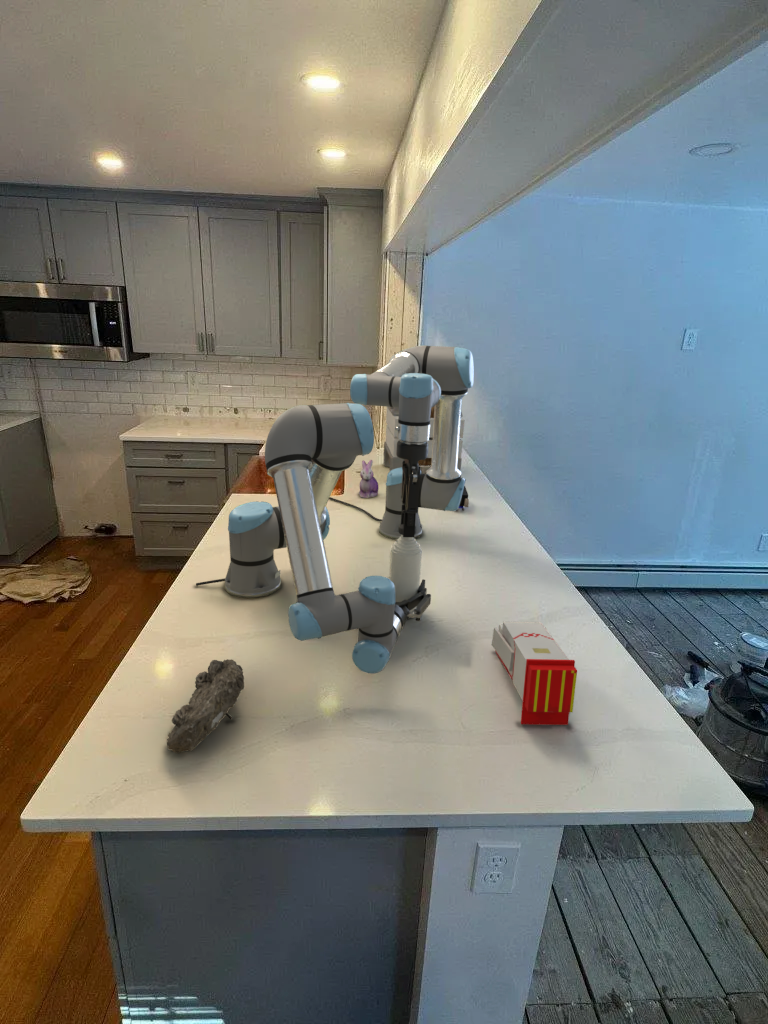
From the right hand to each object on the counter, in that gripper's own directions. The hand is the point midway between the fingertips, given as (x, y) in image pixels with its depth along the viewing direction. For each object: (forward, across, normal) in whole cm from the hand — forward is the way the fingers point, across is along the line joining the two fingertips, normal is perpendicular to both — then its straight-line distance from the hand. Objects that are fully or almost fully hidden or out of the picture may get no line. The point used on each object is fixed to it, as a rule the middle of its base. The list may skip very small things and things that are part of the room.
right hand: (407, 532), depth 142 cm
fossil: (+22, +39, -42) cm, 61 cm away
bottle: (+22, 0, 0) cm, 22 cm away
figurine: (+22, -97, -2) cm, 99 cm away
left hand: (+16, -4, +2) cm, 17 cm away
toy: (+22, +31, +23) cm, 44 cm away
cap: (-1, 0, 0) cm, 1 cm away
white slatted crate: (+22, -132, +25) cm, 136 cm away
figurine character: (+22, -83, +33) cm, 92 cm away
